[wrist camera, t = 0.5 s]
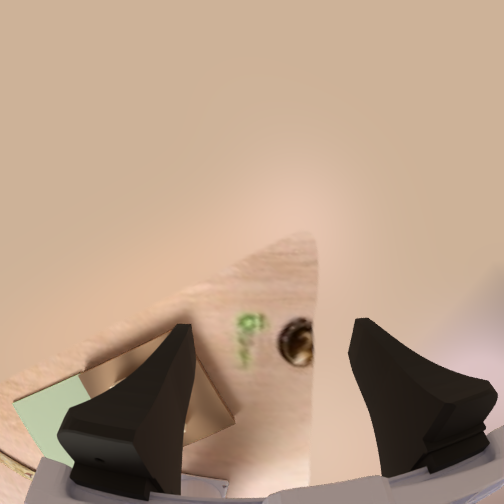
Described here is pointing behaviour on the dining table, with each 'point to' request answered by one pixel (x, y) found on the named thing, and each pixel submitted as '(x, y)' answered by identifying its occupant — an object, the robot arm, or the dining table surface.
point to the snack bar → (16, 467)
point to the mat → (51, 415)
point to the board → (201, 401)
